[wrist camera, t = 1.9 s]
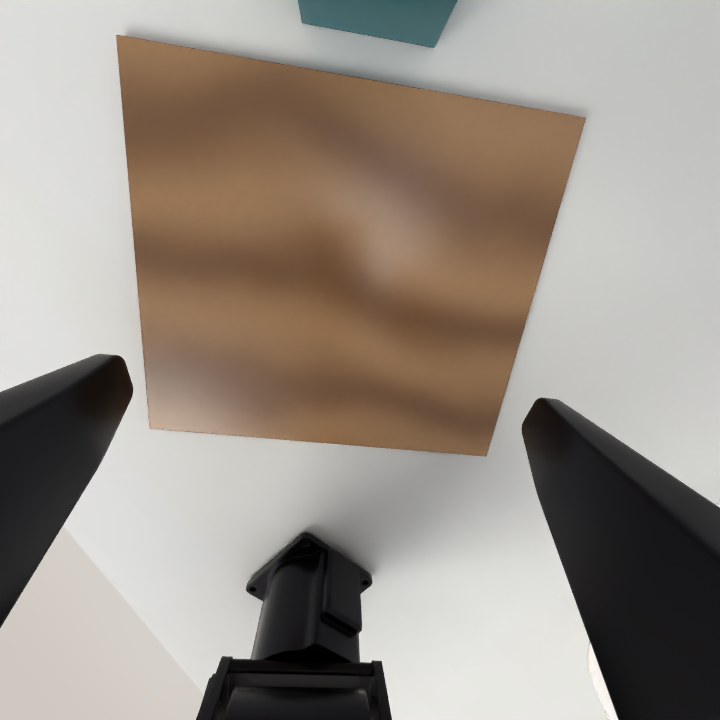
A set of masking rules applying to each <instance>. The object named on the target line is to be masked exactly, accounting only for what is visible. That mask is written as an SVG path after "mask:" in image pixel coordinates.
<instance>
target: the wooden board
mask: <svg viewBox="0 0 720 720" xmlns="http://www.w3.org/2000/svg"><path fill="white" fill-rule="evenodd" d="M116 39H117V51H118V62H119V74H120V86H121V97H122V109H123V121H124V133H125V144H126V156H127V168H128V180H129V191H130V203H131V215H132V227H133V238H134V250H135V262H136V273H137V285H138V297H139V309H140V320H141V332H142V344H143V356H144V367H145V379H146V391H147V403H148V414H149V426H150V429H162V430H174V431H186V432H198V433H210V434H222V435H234V436H247V437H259V438H271V439H283V440H295V441H307V442H319V443H331V444H343V445H355V446H368V447H380V448H392V449H404V450H416V451H428V452H440V453H452V454H464V455H477V456H487V452H488V449H489V445H490V442H491V439H492V435H493V432H494V428H495V425H496V422H497V418H498V415H499V411H500V408H501V405H502V401H503V398H504V394H505V391H506V388H507V384H508V381H509V377H510V374H511V371H512V367H513V364H514V360H515V357H516V354H517V350H518V347H519V343H520V340H521V337H522V333H523V330H524V326H525V323H526V320H527V316H528V313H529V309H530V306H531V303H532V299H533V296H534V292H535V289H536V286H537V282H538V279H539V275H540V272H541V269H542V265H543V262H544V258H545V255H546V252H547V248H548V245H549V241H550V238H551V235H552V231H553V228H554V224H555V221H556V218H557V214H558V211H559V207H560V204H561V201H562V197H563V194H564V190H565V187H566V184H567V180H568V177H569V173H570V170H571V166H572V163H573V160H574V156H575V153H576V149H577V146H578V143H579V139H580V136H581V132H582V129H583V126H584V122H585V119H586V118H585V117H579V116H573V115H568V114H562V113H557V112H551V111H545V110H540V109H534V108H528V107H523V106H517V105H511V104H506V103H500V102H494V101H489V100H483V99H477V98H472V97H466V96H460V95H455V94H449V93H443V92H438V91H432V90H426V89H421V88H415V87H409V86H404V85H398V84H393V83H387V82H381V81H376V80H370V79H364V78H359V77H353V76H347V75H342V74H336V73H330V72H325V71H319V70H313V69H308V68H302V67H296V66H291V65H285V64H279V63H274V62H268V61H262V60H257V59H251V58H246V57H240V56H234V55H229V54H223V53H217V52H212V51H206V50H200V49H195V48H189V47H183V46H178V45H172V44H166V43H161V42H155V41H149V40H144V39H138V38H132V37H127V36H121V35H116Z"/></svg>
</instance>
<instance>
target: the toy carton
mask: <svg viewBox="0 0 720 720" xmlns="http://www.w3.org/2000/svg"><path fill="white" fill-rule="evenodd" d="M456 2H457V0H298V4H299V9H300V14H301V20H302V23H306V24H311V25H316V26H322V27H327V28H332V29H338V30H343V31H348V32H354V33H359V34H364V35H370V36H375V37H380V38H386V39H391V40H396V41H401V42H407V43H412V44H417V45H423V46H428V47H433V48H434V47H435V45H436V43H437V41H438V39H439V37H440V35H441V33H442V31H443V29H444V27H445V25H446V23H447V21H448V19H449V17H450V15H451V13H452V10H453V8H454V6H455V4H456Z"/></svg>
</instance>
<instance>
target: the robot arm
mask: <svg viewBox="0 0 720 720" xmlns="http://www.w3.org/2000/svg"><path fill="white" fill-rule="evenodd" d="M132 394H133V385H132V382H131V379H130V376H129V373H128V369H127V366H126V363H125V361H124V359H123V358H122V357H120V356H118V355H108V354H97V355H94V356H91V357H89V358H86V359H84V360H81V361H79V362H76V363H73V364H71V365H68V366H66V367H63V368H61V369H58V370H56V371H53V372H51V373H48V374H45V375H43V376H40V377H38V378H35V379H33V380H30V381H28V382H25V383H23V384H20V385H18V386H15V387H12V388H10V389H7V390H5V391H2V392H0V628H1V626H2V624H3V623H4V621H5V619H6V618H7V616H8V614H9V613H10V611H11V609H12V608H13V606H14V605H15V603H16V601H17V600H18V598H19V596H20V595H21V593H22V592H23V590H24V588H25V587H26V585H27V583H28V582H29V580H30V578H31V577H32V575H33V573H34V572H35V570H36V569H37V567H38V565H39V564H40V562H41V560H42V559H43V557H44V555H45V554H46V552H47V550H48V549H49V547H50V546H51V544H52V542H53V541H54V539H55V537H56V536H57V534H58V532H59V531H60V529H61V527H62V526H63V524H64V523H65V521H66V519H67V518H68V516H69V514H70V513H71V511H72V510H73V508H74V506H75V505H76V503H77V501H78V500H79V498H80V496H81V495H82V493H83V491H84V490H85V488H86V487H87V485H88V483H89V482H90V480H91V478H92V477H93V475H94V473H95V472H96V470H97V468H98V467H99V465H100V463H101V461H102V459H103V457H104V455H105V453H106V452H107V449H108V447H109V445H110V443H111V441H112V439H113V437H114V434H115V432H116V430H117V428H118V426H119V424H120V422H121V419H122V417H123V415H124V413H125V411H126V409H127V407H128V404H129V402H130V400H131V398H132ZM522 435H523V439H524V443H525V447H526V451H527V455H528V459H529V463H530V467H531V472H532V476H533V480H534V484H535V487H536V491H537V494H538V497H539V500H540V503H541V506H542V509H543V512H544V515H545V517H546V520H547V523H548V526H549V529H550V531H551V534H552V537H553V540H554V542H555V545H556V548H557V551H558V554H559V556H560V559H561V562H562V565H563V568H564V570H565V573H566V576H567V579H568V581H569V584H570V587H571V590H572V593H573V595H574V598H575V601H576V604H577V607H578V609H579V612H580V615H581V618H582V620H583V623H584V626H585V629H586V632H587V634H588V637H589V640H590V643H591V646H592V648H593V651H594V654H595V657H596V659H597V662H598V665H599V668H600V671H601V673H602V676H603V679H604V682H605V685H606V687H607V690H608V693H609V696H610V698H611V701H612V704H613V707H614V710H615V712H616V715H617V718H618V720H720V508H719V507H718V506H716V505H715V504H713V503H712V502H710V501H709V500H707V499H706V498H704V497H703V496H701V495H700V494H698V493H697V492H695V491H694V490H693V489H691V488H690V487H688V486H687V485H685V484H684V483H682V482H681V481H679V480H678V479H676V478H675V477H673V476H672V475H670V474H669V473H667V472H666V471H664V470H663V469H661V468H660V467H658V466H657V465H655V464H654V463H652V462H651V461H649V460H648V459H646V458H645V457H643V456H642V455H640V454H639V453H637V452H636V451H634V450H633V449H631V448H630V447H628V446H627V445H625V444H624V443H622V442H621V441H619V440H618V439H616V438H615V437H613V436H612V435H610V434H609V433H607V432H606V431H604V430H603V429H601V428H600V427H598V426H597V425H595V424H594V423H593V422H591V421H590V420H588V419H587V418H585V417H584V416H582V415H581V414H579V413H578V412H576V411H575V410H573V409H572V408H570V407H569V406H567V405H566V404H564V403H563V402H561V401H560V400H557V399H551V398H539V399H537V400H536V401H535V402H534V404H533V406H532V408H531V409H530V411H529V413H528V415H527V416H526V418H525V420H524V422H523V424H522ZM371 584H372V576H371V574H370V573H368V572H367V571H365V570H364V569H362V568H361V567H359V566H358V565H356V564H355V563H353V562H352V561H350V560H349V559H347V558H346V557H344V556H343V555H341V554H340V553H338V552H337V551H335V550H334V549H332V548H331V547H329V546H328V545H326V544H325V543H323V542H322V541H320V540H319V539H317V538H316V537H314V536H313V535H311V534H309V533H303V534H301V535H300V536H299V537H297V538H296V539H295V540H294V541H293V542H292V543H291V544H290V545H288V546H287V547H286V548H285V549H284V550H283V551H282V552H281V553H279V554H278V555H277V556H276V557H275V558H274V559H273V560H272V561H270V562H269V563H268V564H267V565H266V566H265V567H264V568H263V569H261V570H260V571H259V572H258V573H257V574H256V575H255V576H254V577H252V578H251V579H250V580H249V581H248V583H247V587H246V591H247V592H248V593H249V594H251V595H253V596H255V597H256V598H258V599H260V600H262V601H263V604H262V609H261V614H260V618H259V623H258V628H257V632H256V637H255V641H254V646H253V651H252V655H251V659H233V657H226V656H222V658H221V661H220V663H219V666H218V669H217V671H216V674H213V675H212V677H211V678H209V681H208V684H207V688H206V691H205V694H204V698H203V701H202V704H201V707H200V710H199V713H198V716H197V718H196V720H392V718H391V712H390V706H389V701H388V695H387V689H386V684H385V678H384V672H383V666H382V661H372V662H371V663H364V662H360V655H359V632H360V631H362V617H361V597H360V594H361V593H362V592H363V591H364V590H366V589H367V588H368V587H369V586H371Z"/></svg>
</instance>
